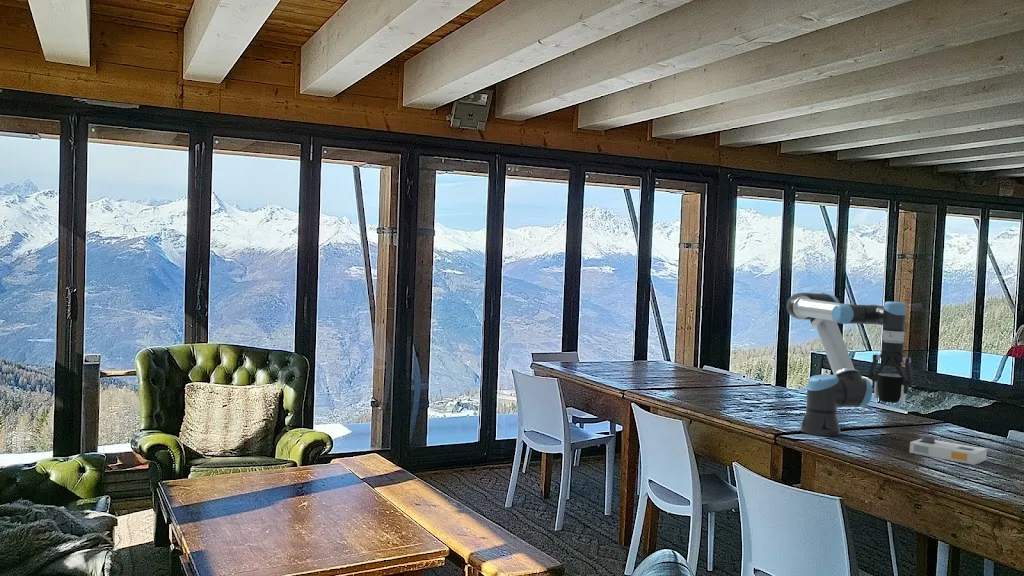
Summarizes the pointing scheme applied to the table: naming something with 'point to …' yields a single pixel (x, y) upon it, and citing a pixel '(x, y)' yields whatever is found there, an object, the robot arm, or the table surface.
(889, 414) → the table surface
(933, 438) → the dark grey rounded piece
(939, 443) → the white rectangular box
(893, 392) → the mug
